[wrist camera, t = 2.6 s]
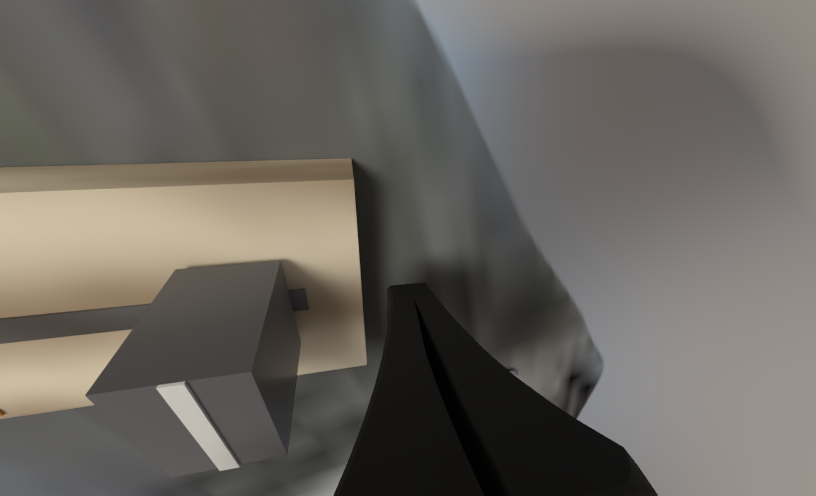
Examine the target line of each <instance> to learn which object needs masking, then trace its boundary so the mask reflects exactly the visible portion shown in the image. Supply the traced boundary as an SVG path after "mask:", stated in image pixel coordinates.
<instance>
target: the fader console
mask: <svg viewBox="0 0 816 496" xmlns="http://www.w3.org/2000/svg"><path fill="white" fill-rule="evenodd" d="M270 261H281V265H282V269H283V273H284V277H285V281H286V285H287V289H288V293H289V297H290V300H291V304H292V308H293V312H294V316H295V320H296V324H297V328H298V332H299V336H300V340H301V348H300V356H299V364H298V372H297V375H301V374H308V373H315V372H322V371H329V370H335V369H342V368H349V367H356V366H363V365H367V358H366V344H365V330H364V316H363V302H362V288H361V274H360V260H359V246H358V232H357V218H356V204H355V189H354V177H353V169H352V160H351V158H347V159H309V160H271V161H233V162H194V163H156V164H118V165H80V166H42V167H3V168H0V419H3V418H10V417H17V416H23V415H30V414H37V413H44V412H51V411H57V410H64V409H71V408H78V407H84V406H91V405H94V404H93V403H92V402H91V401H90V400H89V399H88V398H87V397H86V396H85V395H86V393H87V392H88V391H89V389H90V388H91V386H92V385H93V384H94V382H95V381H96V379H97V378H98V377H99V375H100V374H101V372H102V371H103V370H104V368H105V367H106V365H107V364H108V363H109V361H110V360H111V358H112V357H113V356H114V354H115V353H116V352H117V350H118V349H119V347H120V346H121V345H122V343H123V342H124V340H125V339H126V338H127V336H128V335H129V333H130V332H131V331H132V329H133V328H134V326H135V325H136V324H137V322H138V321H139V319H140V318H141V317H142V315H143V314H144V313H145V311H146V310H147V308H148V307H149V306H150V304H151V303H152V301H153V300H154V299H155V297H156V296H157V294H158V293H159V292H160V290H161V289H162V287H163V286H164V285H165V283H166V282H167V280H168V279H169V278H170V276H171V275H172V274H173V272H174V271H175V269H185V268H197V267H209V266H222V265H234V264H246V263H258V262H270Z"/></svg>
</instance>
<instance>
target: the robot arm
mask: <svg viewBox="0 0 816 496" xmlns="http://www.w3.org/2000/svg"><path fill="white" fill-rule="evenodd" d="M387 312H388V327H387V335H386V340H385V345H384V350H383V355H382V360H381V364H380V368H379V372H378V376H377V379H376V383H375V387H374V390H373V393H372V396H371V399H370V403H369V406H368V409H367V412H366V415H365V418H364V421H363V424H362V426H361V429H360V432H359V434H358V437H357V440H356V442H355V445H354V447H353V450H352V453H351V455H350V458H349V460H348V463H347V465H346V468H345V470H344V472H343V475H342V477H341V479H340V482H339V484H338V486H337V489H336V491H335V493H334V496H658V494H657V493H656V492H655V490H654V489H653V487H652V486H651V484H650V483H649V481H648V480H647V479H646V477H645V475H644V474H643V473H642V471H641V470H640V468H639V467H638V465H637V464H636V463H635V462H634V460H633V459H632V458H631V456H630V455H629V454H628V453H627V451H626V450H625V449H624V447H622V446H620V445H618V444H617V443H615V442H614V441H612V440H610V439H608V438H607V437H605V436H604V435H602V434H600V433H598V432H597V431H595V430H593V429H592V428H590V427H588V426H587V425H585V424H583V423H582V422H580V421H578V420H577V419H575V418H574V417H572V416H571V415H569V414H567V413H566V412H564V411H563V410H561V409H560V408H558V407H557V406H555V405H554V404H552V403H551V402H550V401H548V400H547V399H545V398H544V397H543V396H541V395H540V394H539V393H537V392H536V391H534V390H533V389H532V388H530V387H529V386H528V385H526V384H525V383H523V382H522V381H521V380H520V379H518V375H517V374H516V372H515V371H508V370H507V369H506V368H505V367H504V366H503V365H501V364H500V363H499V362H498V361H497V360H496V359H494V358H493V357H492V356H491V355H490V354H489V353H488V352H487V351H486V350H485V349H483V348H482V347H481V346H480V345H479V344H478V343H477V342H476V341H475V340H474V339H473V338H472V337H471V336H470V335H469V334H468V333H467V332H466V331H465V330H464V329H463V327H462V326H461V325H460V324H459V323H458V322H457V321H456V320H455V319H454V318H453V316H452V315H451V314H450V313H449V312H448V311H447V310H446V308H445V307H444V306H443V305H442V303H441V302H440V301H439V300H438V299H437V297H436V296H435V295H434V293H433V292H432V291H431V290H430V288H429V287H428V286H427V284H425V283H414V284H404V285H394V286H390V287H389V288H388V289H387Z"/></svg>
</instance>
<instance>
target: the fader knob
mask: <svg viewBox="0 0 816 496" xmlns="http://www.w3.org/2000/svg"><path fill="white" fill-rule="evenodd" d="M300 348H301V340H300V336H299V332H298V328H297V324H296V320H295V316H294V312H293V308H292V304H291V300H290V297H289V293H288V289H287V285H286V281H285V277H284V273H283V269H282V265H281V261H270V262H258V263H246V264H234V265H222V266H209V267H197V268H185V269H175V271H174V272H173V274H172V275H171V276H170V278H169V279H168V280H167V282H166V283H165V285H164V286H163V287H162V289H161V290H160V292H159V293H158V294H157V296H156V297H155V299H154V300H153V301H152V303H151V304H150V306H149V307H148V308H147V310H146V311H145V313H144V314H143V315H142V317H141V318H140V319H139V321H138V322H137V324H136V325H135V326H134V328H133V329H132V331H131V332H130V333H129V335H128V336H127V338H126V339H125V340H124V342H123V343H122V345H121V346H120V347H119V349H118V350H117V352H116V353H115V354H114V356H113V357H112V358H111V360H110V361H109V363H108V364H107V365H106V367H105V368H104V370H103V371H102V372H101V374H100V375H99V377H98V378H97V379H96V381H95V382H94V384H93V385H92V386H91V388H90V389H89V391H88V392H87V393H86V395H85V396H86V397H87V398H88V399H89V400H90V401H91V402H92V403H93V404H94V405H95V406H96V407H97V408H98V409H99V410H100V411H101V412H102V413H103V414H105V415H106V416H107V417H108V418H109V419H110V420H111V421H112V422H113V423H114V424H115V425H116V426H117V427H118V428H119V429H120V430H121V431H122V432H123V433H124V434H125V435H126V436H127V437H128V438H129V439H130V440H131V441H132V442H133V443H134V444H135V445H137V446H138V447H139V448H140V449H141V450H142V451H143V452H144V453H145V454H146V455H147V456H148V457H149V458H150V459H151V460H152V461H153V462H154V463H155V464H156V465H157V466H158V467H159V468H160V469H161V470H162V471H163V472H164V473H165V474H166V475H167V476H169V477H170V478H171V477H177V476H182V475H187V474H192V473H197V472H203V471H208V470H213V469H219V471H222V470H228V469H233V468H238V467H240V464H244V463H250V462H255V461H260V460H265V459H271V458H276V457H281V456H286V455H287V454H288V446H289V437H290V429H291V421H292V413H293V405H294V397H295V388H296V380H297V372H298V364H299V356H300Z"/></svg>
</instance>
